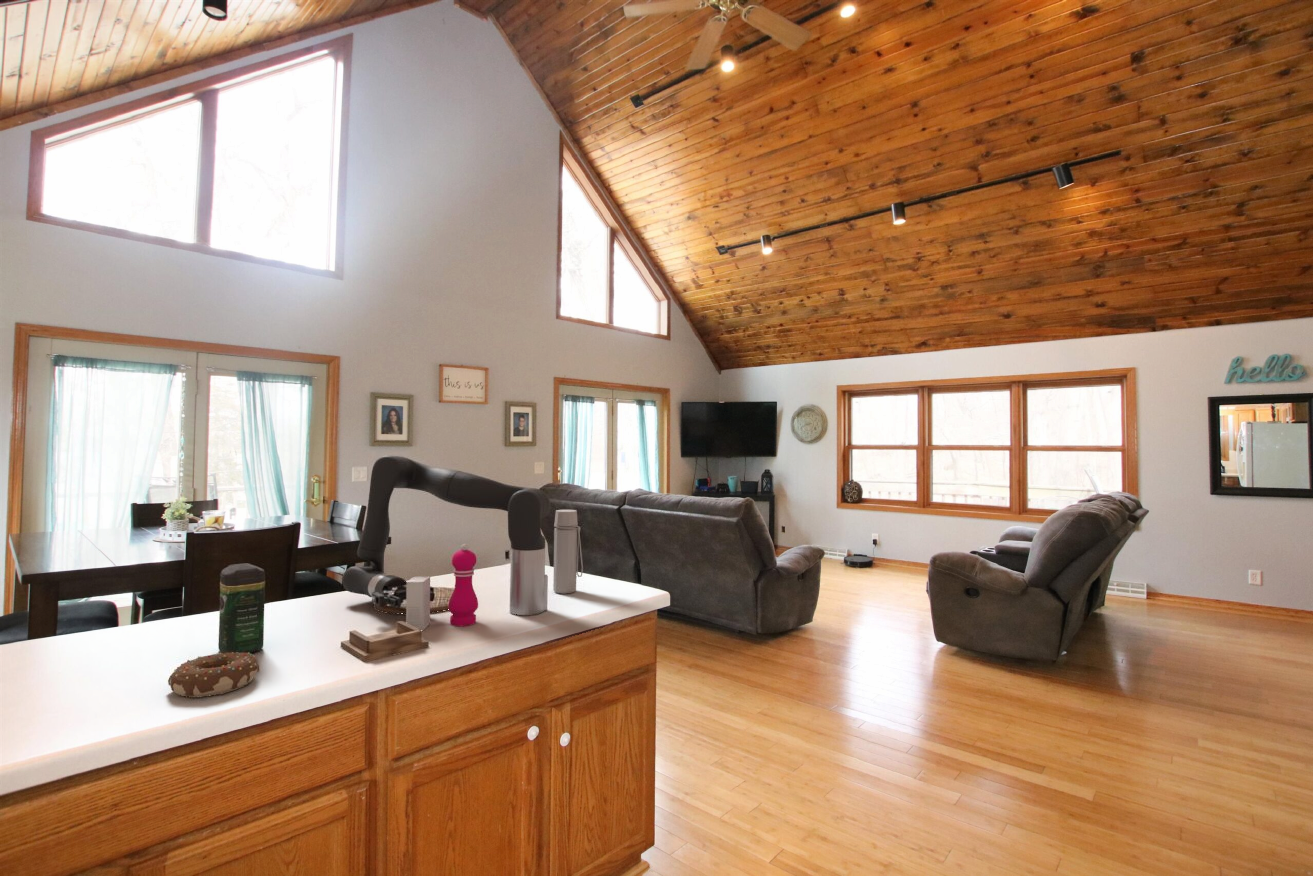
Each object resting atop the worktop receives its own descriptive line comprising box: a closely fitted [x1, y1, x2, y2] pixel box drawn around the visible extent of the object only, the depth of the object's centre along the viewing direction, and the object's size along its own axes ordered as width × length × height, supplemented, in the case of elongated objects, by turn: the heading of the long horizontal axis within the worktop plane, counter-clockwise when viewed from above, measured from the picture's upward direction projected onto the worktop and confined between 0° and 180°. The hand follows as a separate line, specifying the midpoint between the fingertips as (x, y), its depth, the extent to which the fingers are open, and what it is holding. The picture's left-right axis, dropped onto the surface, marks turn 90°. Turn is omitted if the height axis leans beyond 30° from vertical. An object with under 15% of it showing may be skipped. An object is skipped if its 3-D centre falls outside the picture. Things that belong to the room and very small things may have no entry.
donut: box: [167, 652, 260, 698], centre depth 118 cm, size 14×14×5 cm
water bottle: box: [552, 509, 584, 595], centre depth 195 cm, size 9×8×25 cm
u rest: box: [340, 620, 429, 663], centre depth 141 cm, size 14×13×4 cm
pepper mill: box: [448, 543, 479, 627], centre depth 160 cm, size 7×7×20 cm
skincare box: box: [405, 576, 431, 631], centre depth 156 cm, size 6×4×12 cm
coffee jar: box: [217, 562, 266, 654], centre depth 137 cm, size 10×8×19 cm
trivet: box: [373, 586, 455, 615], centre depth 179 cm, size 25×25×2 cm
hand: (416, 600), depth 156 cm, fingers open, 8 cm apart
